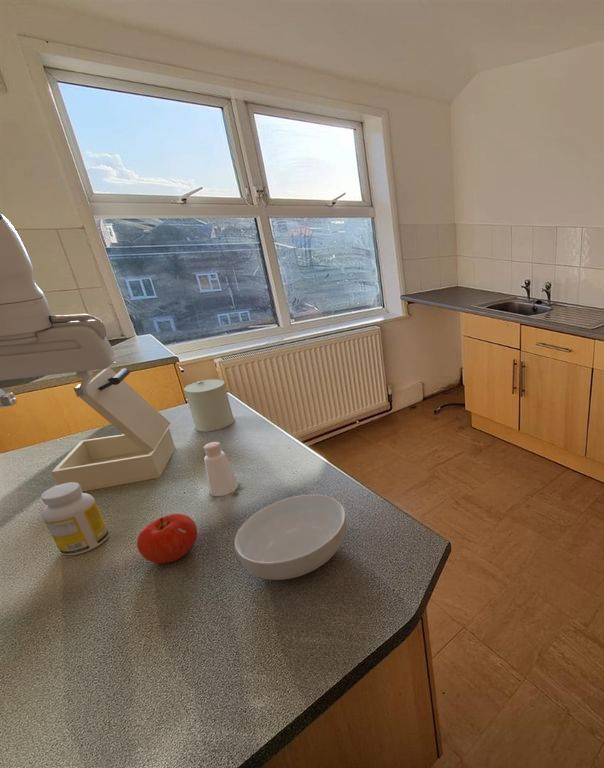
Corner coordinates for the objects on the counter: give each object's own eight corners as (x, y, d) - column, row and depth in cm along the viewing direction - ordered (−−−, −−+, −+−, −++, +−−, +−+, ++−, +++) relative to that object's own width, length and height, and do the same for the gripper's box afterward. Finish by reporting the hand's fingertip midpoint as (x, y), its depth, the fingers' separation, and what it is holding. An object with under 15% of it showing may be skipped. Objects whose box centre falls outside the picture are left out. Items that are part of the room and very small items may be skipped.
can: (225, 413, 125) (215, 374, 120) (240, 422, 120) (230, 382, 115) (189, 425, 118) (177, 384, 113) (203, 435, 113) (191, 393, 108)
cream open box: (62, 495, 89) (51, 472, 87) (89, 462, 101) (80, 440, 98) (159, 477, 95) (151, 455, 93) (175, 448, 107) (168, 427, 105)
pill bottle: (108, 526, 81) (86, 474, 77) (111, 544, 77) (88, 490, 72) (60, 543, 77) (33, 489, 72) (60, 563, 73) (32, 507, 68)
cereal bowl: (285, 614, 64) (276, 579, 62) (222, 570, 72) (211, 537, 69) (370, 543, 78) (366, 512, 75) (310, 512, 86) (304, 483, 83)
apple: (213, 541, 78) (201, 505, 75) (172, 576, 71) (157, 538, 68) (176, 534, 79) (163, 499, 76) (132, 567, 72) (116, 530, 69)
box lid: (74, 393, 84) (102, 378, 85) (102, 370, 95) (127, 357, 96) (147, 454, 93) (172, 439, 94) (164, 426, 104) (187, 413, 105)
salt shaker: (207, 499, 89) (192, 453, 84) (211, 485, 93) (198, 441, 89) (237, 493, 91) (224, 448, 87) (240, 479, 95) (228, 436, 91)
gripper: (105, 308, 73) (132, 383, 78) (-70, 320, 64) (-27, 403, 70) (92, 316, 68) (121, 396, 73) (-101, 330, 59) (-51, 419, 65)
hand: (48, 400), depth 71 cm, fingers open, 8 cm apart
